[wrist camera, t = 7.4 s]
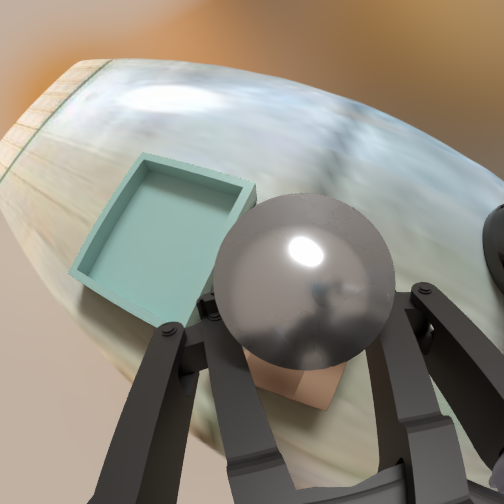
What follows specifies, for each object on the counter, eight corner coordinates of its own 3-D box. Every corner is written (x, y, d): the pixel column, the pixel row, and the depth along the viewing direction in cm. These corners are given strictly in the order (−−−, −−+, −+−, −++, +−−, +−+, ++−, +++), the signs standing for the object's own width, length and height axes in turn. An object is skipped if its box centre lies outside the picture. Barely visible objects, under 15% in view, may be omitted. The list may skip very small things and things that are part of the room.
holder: (257, 260, 31) (256, 249, 28) (360, 299, 29) (369, 292, 26) (211, 363, 27) (204, 363, 25) (320, 406, 25) (326, 410, 22)
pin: (267, 278, 22) (256, 173, 10) (336, 303, 21) (409, 227, 9) (237, 346, 20) (182, 324, 8) (309, 374, 19) (362, 395, 7)
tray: (151, 167, 37) (142, 152, 34) (257, 199, 34) (255, 183, 31) (83, 282, 31) (68, 273, 28) (189, 342, 28) (179, 339, 25)
